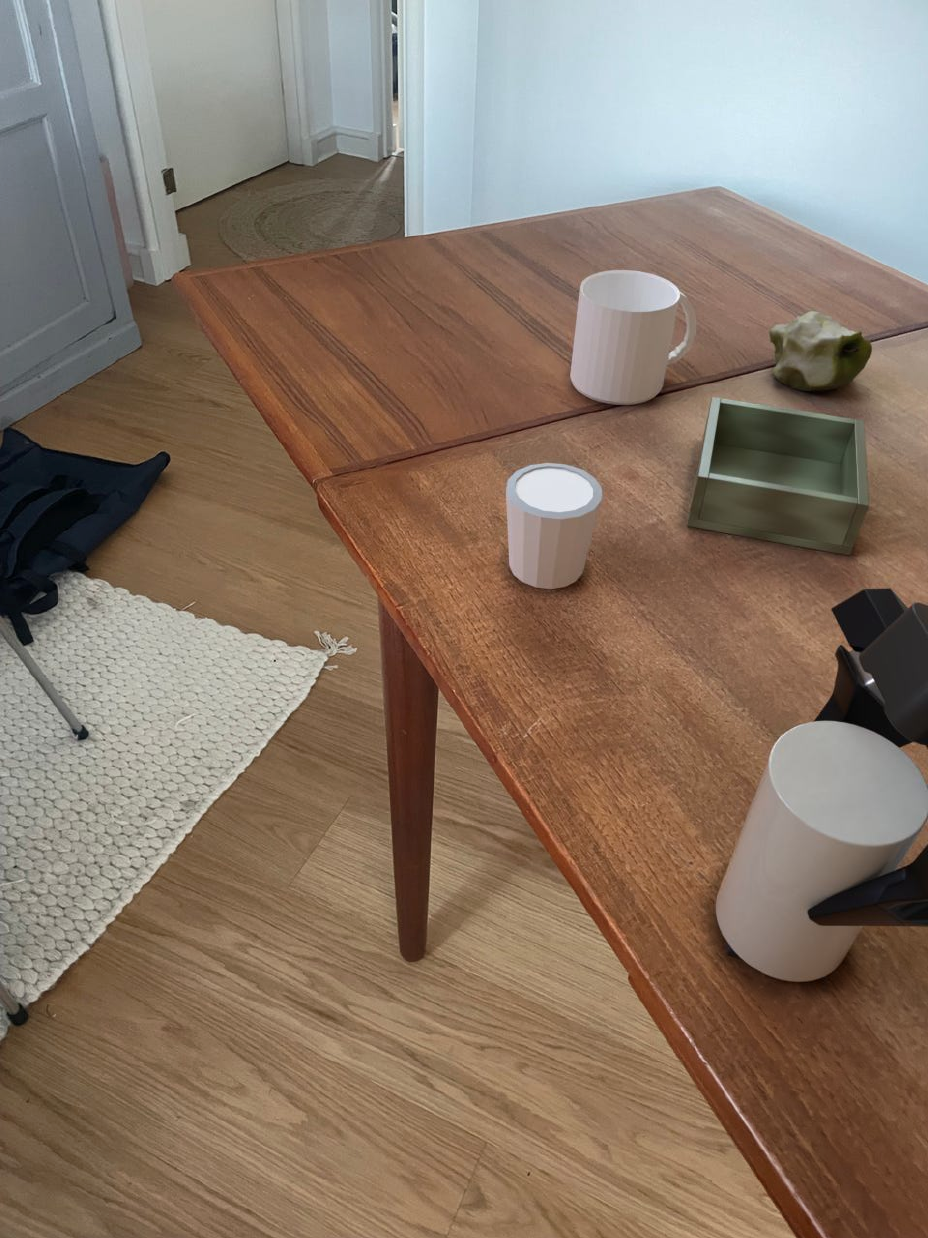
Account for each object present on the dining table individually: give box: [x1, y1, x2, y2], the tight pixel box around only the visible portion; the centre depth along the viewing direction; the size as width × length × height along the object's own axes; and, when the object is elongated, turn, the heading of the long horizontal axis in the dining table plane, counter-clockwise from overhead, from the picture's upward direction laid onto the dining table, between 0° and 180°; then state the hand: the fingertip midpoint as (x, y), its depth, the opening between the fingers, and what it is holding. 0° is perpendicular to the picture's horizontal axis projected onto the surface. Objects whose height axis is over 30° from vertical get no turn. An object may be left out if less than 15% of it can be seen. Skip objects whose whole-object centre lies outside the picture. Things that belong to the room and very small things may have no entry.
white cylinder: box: [715, 721, 928, 983], centre depth 45 cm, size 7×7×12 cm
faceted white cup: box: [505, 462, 603, 590], centre depth 68 cm, size 7×7×7 cm
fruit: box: [769, 310, 873, 392], centre depth 91 cm, size 9×9×8 cm
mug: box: [570, 269, 697, 406], centre depth 88 cm, size 12×9×9 cm
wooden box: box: [686, 396, 870, 556], centre depth 76 cm, size 13×13×5 cm
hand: (787, 849), depth 44 cm, fingers closed on white cylinder, 7 cm apart
